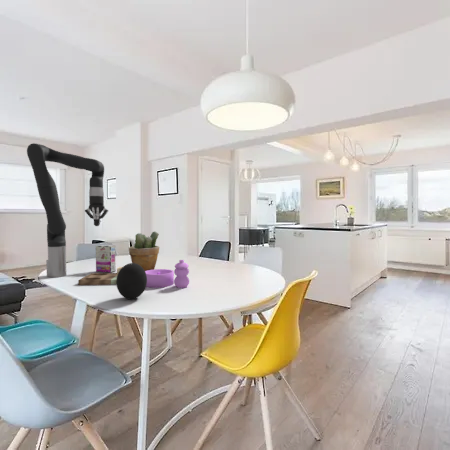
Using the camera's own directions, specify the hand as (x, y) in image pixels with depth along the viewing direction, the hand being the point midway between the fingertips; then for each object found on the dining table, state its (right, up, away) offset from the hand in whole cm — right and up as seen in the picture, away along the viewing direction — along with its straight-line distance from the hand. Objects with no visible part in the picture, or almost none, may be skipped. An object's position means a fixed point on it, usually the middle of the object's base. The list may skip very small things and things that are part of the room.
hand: (96, 226), depth 172 cm
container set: (+44, -30, -20) cm, 56 cm away
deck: (+10, -29, -10) cm, 33 cm away
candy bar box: (-1, -29, +16) cm, 33 cm away
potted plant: (+23, -29, +15) cm, 40 cm away
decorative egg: (+34, -31, -44) cm, 64 cm away
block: (+18, -27, -10) cm, 34 cm away
